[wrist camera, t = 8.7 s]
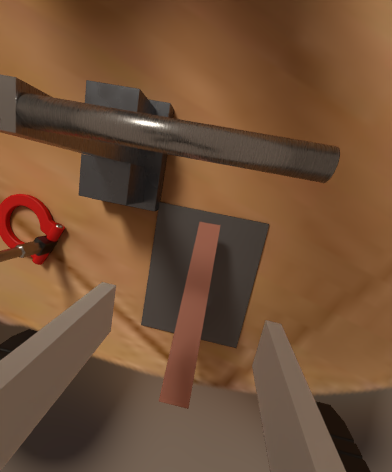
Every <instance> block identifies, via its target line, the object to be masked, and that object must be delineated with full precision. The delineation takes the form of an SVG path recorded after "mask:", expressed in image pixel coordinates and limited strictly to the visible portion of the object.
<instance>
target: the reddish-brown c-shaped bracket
mask: <svg viewBox="0 0 392 472" xmlns="http://www.w3.org/2000/svg"><path fill="white" fill-rule="evenodd" d="M219 231H220V225H216V224H210V223H204V222H199V227H198V231H197V236H196V240H195V244H194V249H193V253H192V258H191V262H190V266H189V271H188V275H187V280H186V284H185V288H184V293H183V297H182V301H181V306H180V310H179V315H178V319H177V323H176V328H175V332H174V337H173V341H172V345H171V350H170V354H169V359H168V363H167V367H166V372H165V376H164V381H163V385H162V390H161V394H160V398H159V402H164V403H167V404H171V405H175V406H179V407H184V408H187V409H188V408H189V402H190V396H191V390H192V385H193V379H194V374H195V368H196V362H197V356H198V351H199V345H200V339H201V334H202V328H203V322H204V317H205V311H206V305H207V299H208V294H209V288H210V282H211V277H212V271H213V265H214V259H215V254H216V248H217V242H218V237H219Z"/></svg>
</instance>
